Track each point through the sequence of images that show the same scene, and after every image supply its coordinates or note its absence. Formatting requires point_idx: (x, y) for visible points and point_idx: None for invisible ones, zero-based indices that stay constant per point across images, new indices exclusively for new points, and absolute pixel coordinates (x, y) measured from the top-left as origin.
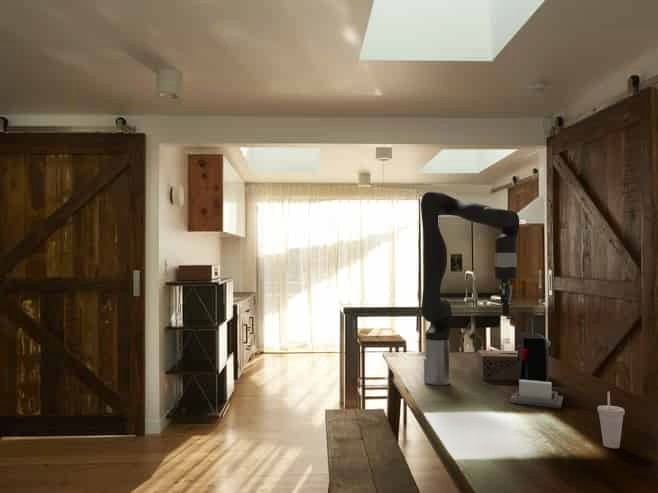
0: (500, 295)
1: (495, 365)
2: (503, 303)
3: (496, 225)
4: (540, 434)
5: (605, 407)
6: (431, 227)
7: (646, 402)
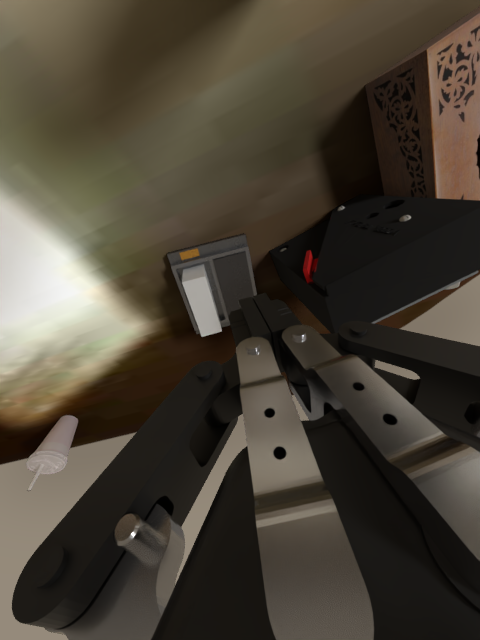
0: (112, 463)
1: (404, 116)
2: (229, 361)
3: None
4: (25, 361)
5: (39, 463)
6: None
7: None
